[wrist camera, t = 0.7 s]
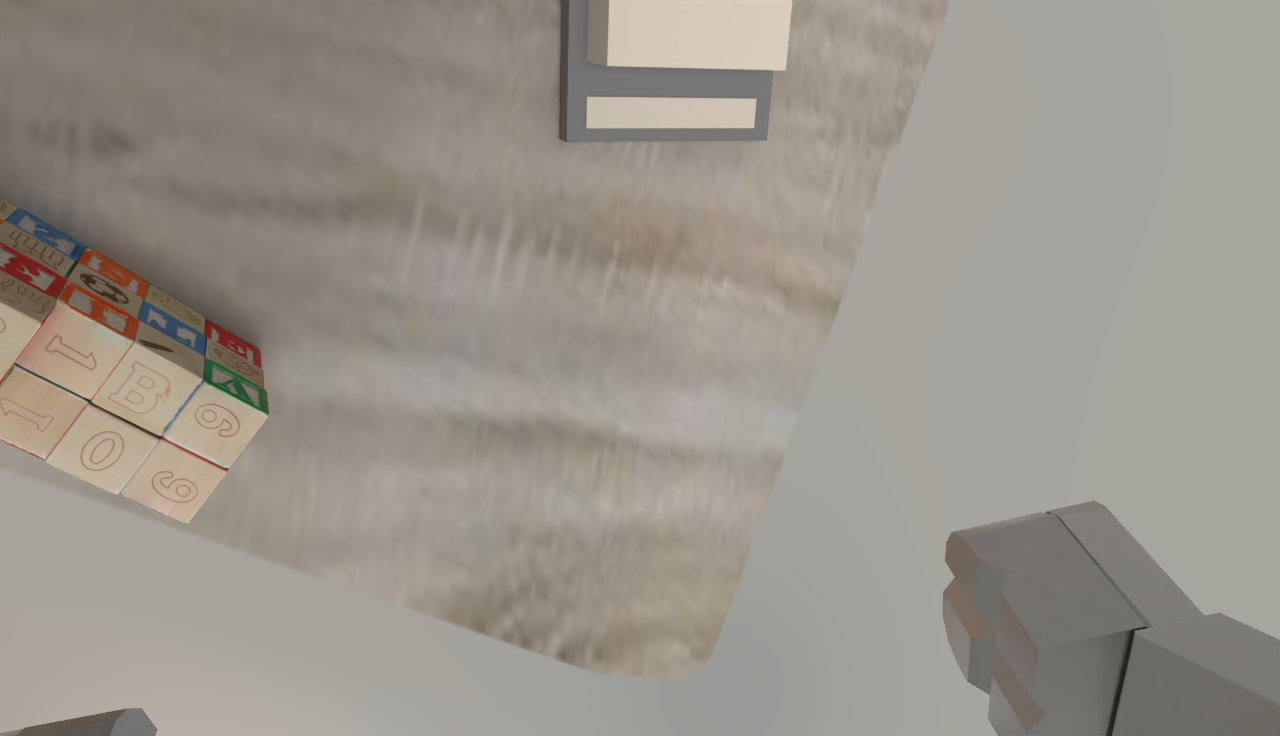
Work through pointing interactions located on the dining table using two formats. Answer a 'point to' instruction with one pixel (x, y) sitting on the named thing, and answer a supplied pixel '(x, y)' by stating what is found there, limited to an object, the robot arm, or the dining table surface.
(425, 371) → the dining table surface
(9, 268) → the stack of blocks
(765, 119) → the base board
